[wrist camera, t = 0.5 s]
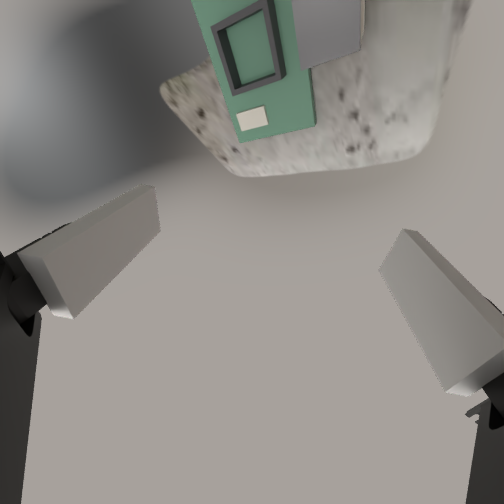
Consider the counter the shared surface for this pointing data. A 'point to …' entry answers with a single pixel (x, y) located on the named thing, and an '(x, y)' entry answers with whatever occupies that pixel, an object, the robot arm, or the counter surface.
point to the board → (258, 65)
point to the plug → (327, 29)
